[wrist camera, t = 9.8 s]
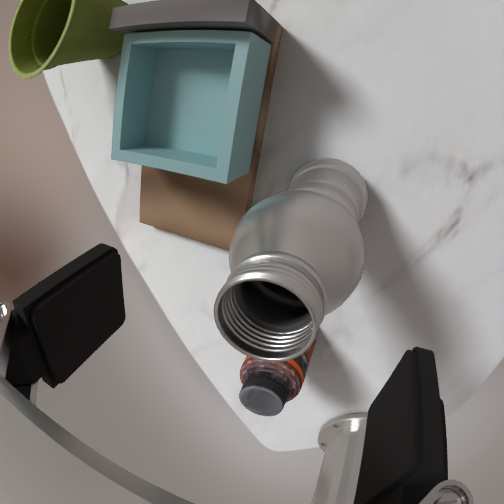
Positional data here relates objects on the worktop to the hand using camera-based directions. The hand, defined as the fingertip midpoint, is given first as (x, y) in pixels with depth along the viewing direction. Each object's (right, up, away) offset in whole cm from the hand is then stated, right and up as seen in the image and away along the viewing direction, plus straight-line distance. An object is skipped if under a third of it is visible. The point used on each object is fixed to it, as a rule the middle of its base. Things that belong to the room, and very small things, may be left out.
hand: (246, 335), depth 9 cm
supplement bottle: (+5, -6, +26) cm, 27 cm away
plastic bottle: (+7, +8, +19) cm, 22 cm away
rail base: (-5, +14, +20) cm, 25 cm away
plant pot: (-16, +28, +18) cm, 37 cm away
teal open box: (-5, +16, +17) cm, 24 cm away
